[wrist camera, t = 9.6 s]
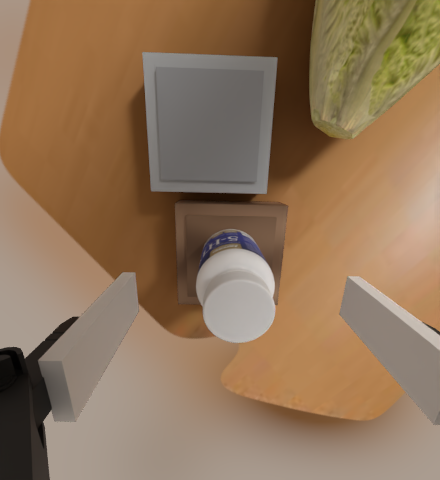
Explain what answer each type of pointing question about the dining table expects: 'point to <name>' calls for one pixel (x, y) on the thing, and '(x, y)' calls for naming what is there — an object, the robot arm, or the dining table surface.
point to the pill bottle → (235, 287)
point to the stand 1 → (209, 121)
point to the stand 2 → (221, 218)
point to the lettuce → (368, 59)
